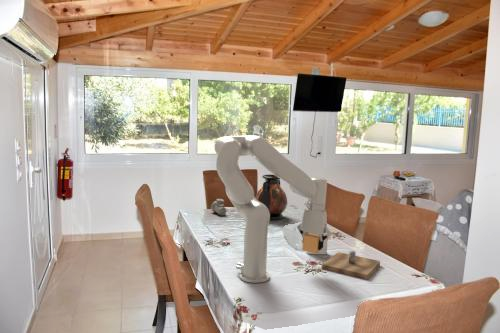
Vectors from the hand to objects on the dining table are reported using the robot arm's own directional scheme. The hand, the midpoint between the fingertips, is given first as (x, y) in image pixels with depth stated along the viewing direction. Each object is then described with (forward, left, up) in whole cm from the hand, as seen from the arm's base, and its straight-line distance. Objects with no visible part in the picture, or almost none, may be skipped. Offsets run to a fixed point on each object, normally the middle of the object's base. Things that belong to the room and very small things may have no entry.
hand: (312, 247), depth 170 cm
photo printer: (-7, +23, -11) cm, 26 cm away
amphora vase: (-60, +70, -11) cm, 93 cm away
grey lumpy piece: (-92, +56, -11) cm, 108 cm away
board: (+13, +16, -11) cm, 23 cm away
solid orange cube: (0, 0, -1) cm, 1 cm away
